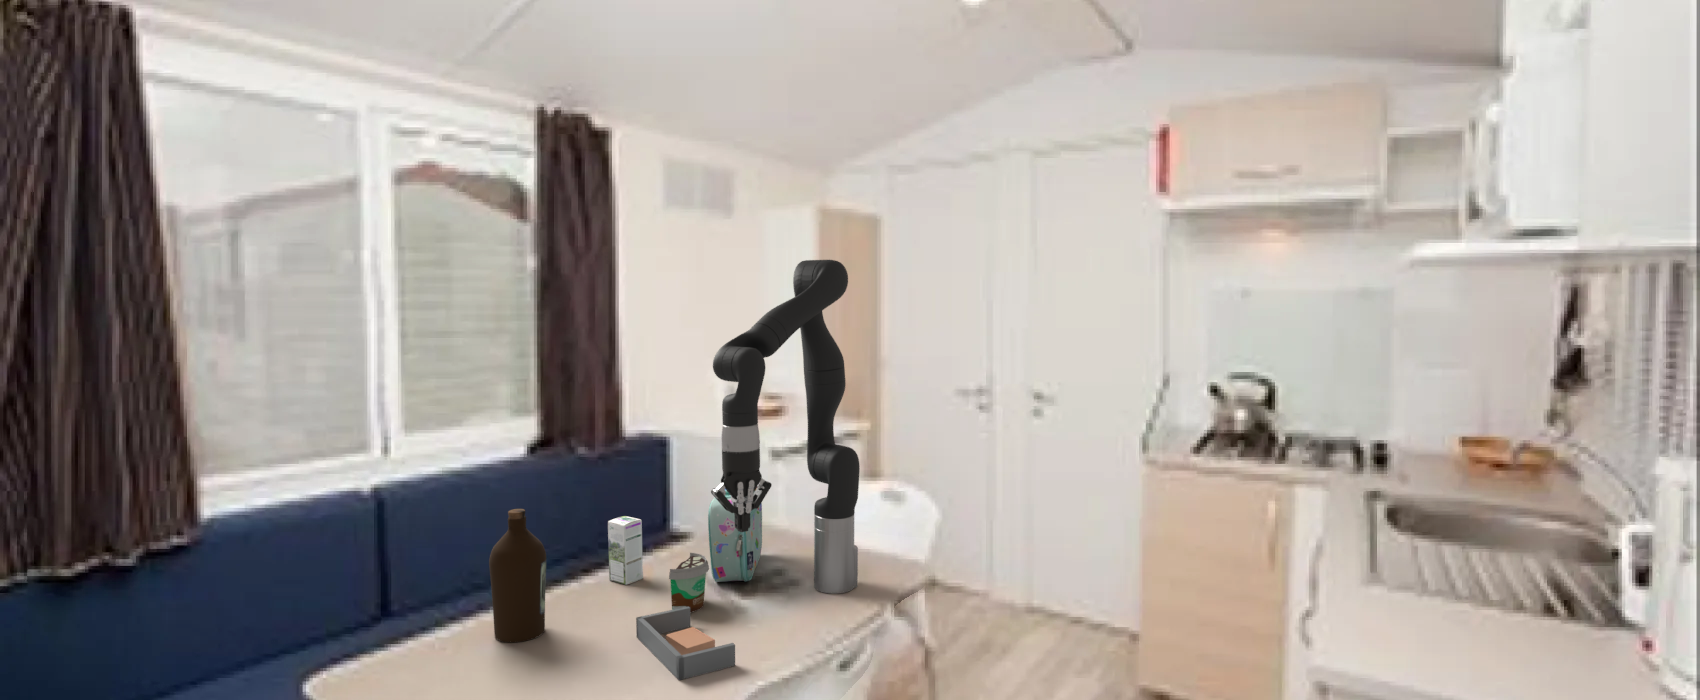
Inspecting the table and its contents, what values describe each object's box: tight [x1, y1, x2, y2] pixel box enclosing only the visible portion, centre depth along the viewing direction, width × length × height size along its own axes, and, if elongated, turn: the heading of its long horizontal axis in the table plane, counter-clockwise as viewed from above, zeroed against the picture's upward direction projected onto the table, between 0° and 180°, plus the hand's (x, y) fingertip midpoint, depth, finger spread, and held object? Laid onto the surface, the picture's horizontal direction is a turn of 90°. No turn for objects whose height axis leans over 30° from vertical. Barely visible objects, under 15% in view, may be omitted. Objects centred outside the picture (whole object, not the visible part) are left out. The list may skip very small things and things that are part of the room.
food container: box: [668, 552, 710, 613], centre depth 189 cm, size 12×6×10 cm, turn 168°
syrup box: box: [607, 515, 644, 586], centre depth 205 cm, size 6×6×14 cm
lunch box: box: [707, 488, 763, 583], centre depth 212 cm, size 27×10×21 cm, turn 179°
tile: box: [665, 626, 716, 655], centre depth 167 cm, size 6×8×3 cm
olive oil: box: [488, 508, 547, 643], centre depth 174 cm, size 11×11×25 cm
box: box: [635, 606, 736, 681], centre depth 167 cm, size 11×22×4 cm, turn 33°
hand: (742, 530), depth 176 cm, fingers closed
